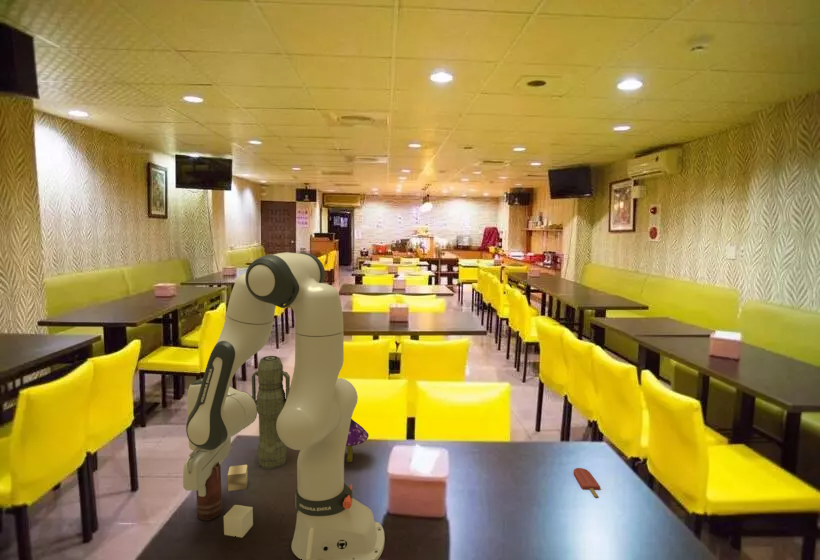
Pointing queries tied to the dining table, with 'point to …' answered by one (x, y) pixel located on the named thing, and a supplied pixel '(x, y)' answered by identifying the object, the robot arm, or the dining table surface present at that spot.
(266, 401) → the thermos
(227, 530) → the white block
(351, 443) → the decorative mushroom
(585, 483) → the popsicle
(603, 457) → the dining table surface
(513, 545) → the dining table surface
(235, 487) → the maple block
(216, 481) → the can
